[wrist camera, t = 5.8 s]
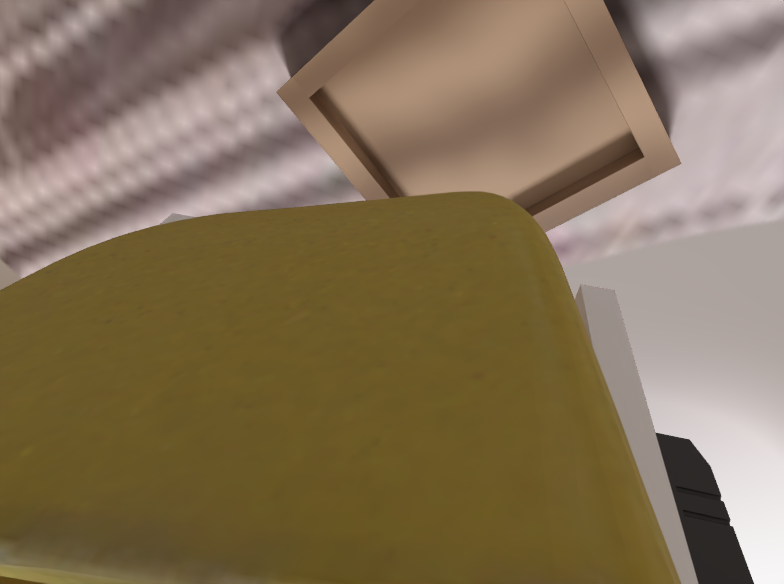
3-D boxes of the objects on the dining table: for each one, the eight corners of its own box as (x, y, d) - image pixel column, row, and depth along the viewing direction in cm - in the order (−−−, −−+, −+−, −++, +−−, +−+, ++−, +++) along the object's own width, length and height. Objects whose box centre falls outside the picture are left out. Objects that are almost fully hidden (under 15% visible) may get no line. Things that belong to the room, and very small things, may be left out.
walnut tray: (291, 80, 26) (276, 91, 24) (529, -142, 19) (532, -148, 17) (441, 266, 31) (437, 286, 30) (669, 146, 24) (681, 163, 23)
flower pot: (573, 84, 9) (770, 709, 2) (567, 409, 14) (614, 923, 7) (170, 141, 11) (-416, 493, 4) (287, 399, 16) (102, 763, 9)
